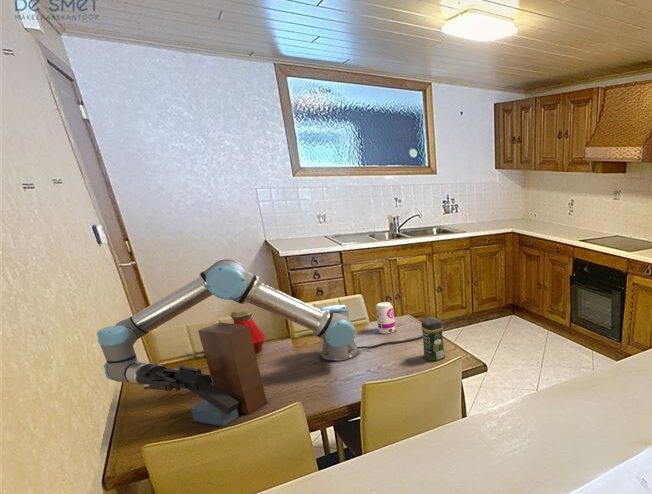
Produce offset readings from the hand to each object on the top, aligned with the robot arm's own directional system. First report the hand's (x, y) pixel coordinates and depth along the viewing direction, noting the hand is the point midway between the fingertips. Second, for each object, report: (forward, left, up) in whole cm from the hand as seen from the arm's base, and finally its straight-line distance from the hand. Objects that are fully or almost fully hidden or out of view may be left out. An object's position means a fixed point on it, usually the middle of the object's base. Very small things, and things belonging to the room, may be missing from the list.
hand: (203, 382), depth 140 cm
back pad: (0, 0, -4) cm, 4 cm away
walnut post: (-7, -6, -14) cm, 17 cm away
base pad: (-1, +1, -14) cm, 14 cm away
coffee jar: (-76, -31, -14) cm, 83 cm away
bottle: (+5, -60, -14) cm, 62 cm away
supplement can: (-55, -70, -14) cm, 90 cm away
